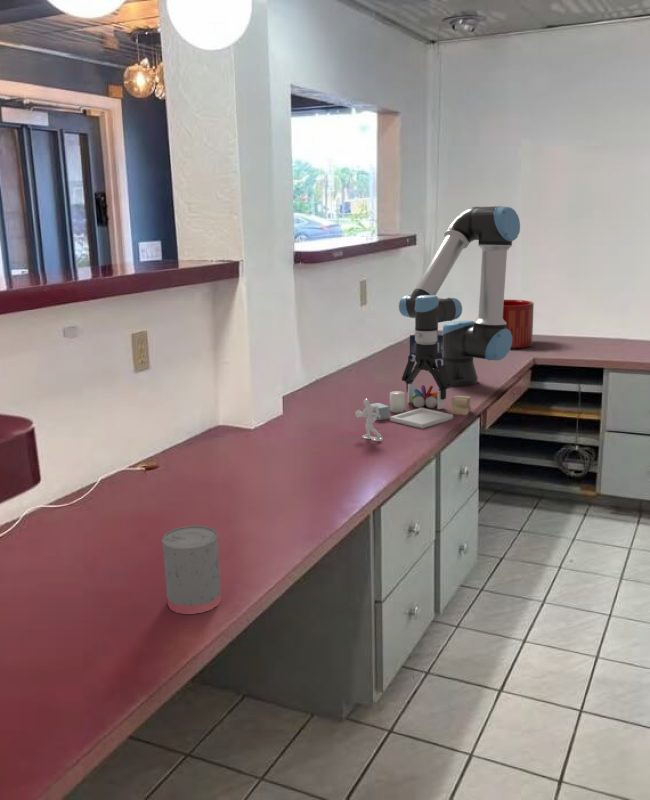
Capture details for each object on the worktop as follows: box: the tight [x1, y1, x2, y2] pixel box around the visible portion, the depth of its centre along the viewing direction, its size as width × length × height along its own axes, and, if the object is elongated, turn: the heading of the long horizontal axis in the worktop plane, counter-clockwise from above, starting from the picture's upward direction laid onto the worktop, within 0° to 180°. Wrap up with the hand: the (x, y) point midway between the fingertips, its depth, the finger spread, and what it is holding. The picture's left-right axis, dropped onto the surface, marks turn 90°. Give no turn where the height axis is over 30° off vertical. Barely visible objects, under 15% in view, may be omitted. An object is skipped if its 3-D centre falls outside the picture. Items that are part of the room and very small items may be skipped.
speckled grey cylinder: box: [161, 525, 222, 606], centre depth 137 cm, size 10×10×12 cm
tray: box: [389, 407, 454, 430], centre depth 248 cm, size 15×13×1 cm
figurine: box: [354, 398, 384, 442], centre depth 229 cm, size 5×9×12 cm, turn 58°
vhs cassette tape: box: [409, 334, 442, 359], centre depth 345 cm, size 18×3×10 cm, turn 83°
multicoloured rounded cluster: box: [411, 384, 438, 409], centre depth 265 cm, size 8×10×7 cm
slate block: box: [369, 402, 390, 421], centre depth 253 cm, size 4×6×4 cm, turn 31°
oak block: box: [450, 395, 472, 416], centre depth 255 cm, size 5×5×5 cm
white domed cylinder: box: [389, 390, 406, 414], centre depth 259 cm, size 5×5×6 cm
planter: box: [503, 299, 535, 350], centre depth 367 cm, size 23×23×20 cm
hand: (425, 405), depth 265 cm, fingers open, 12 cm apart
